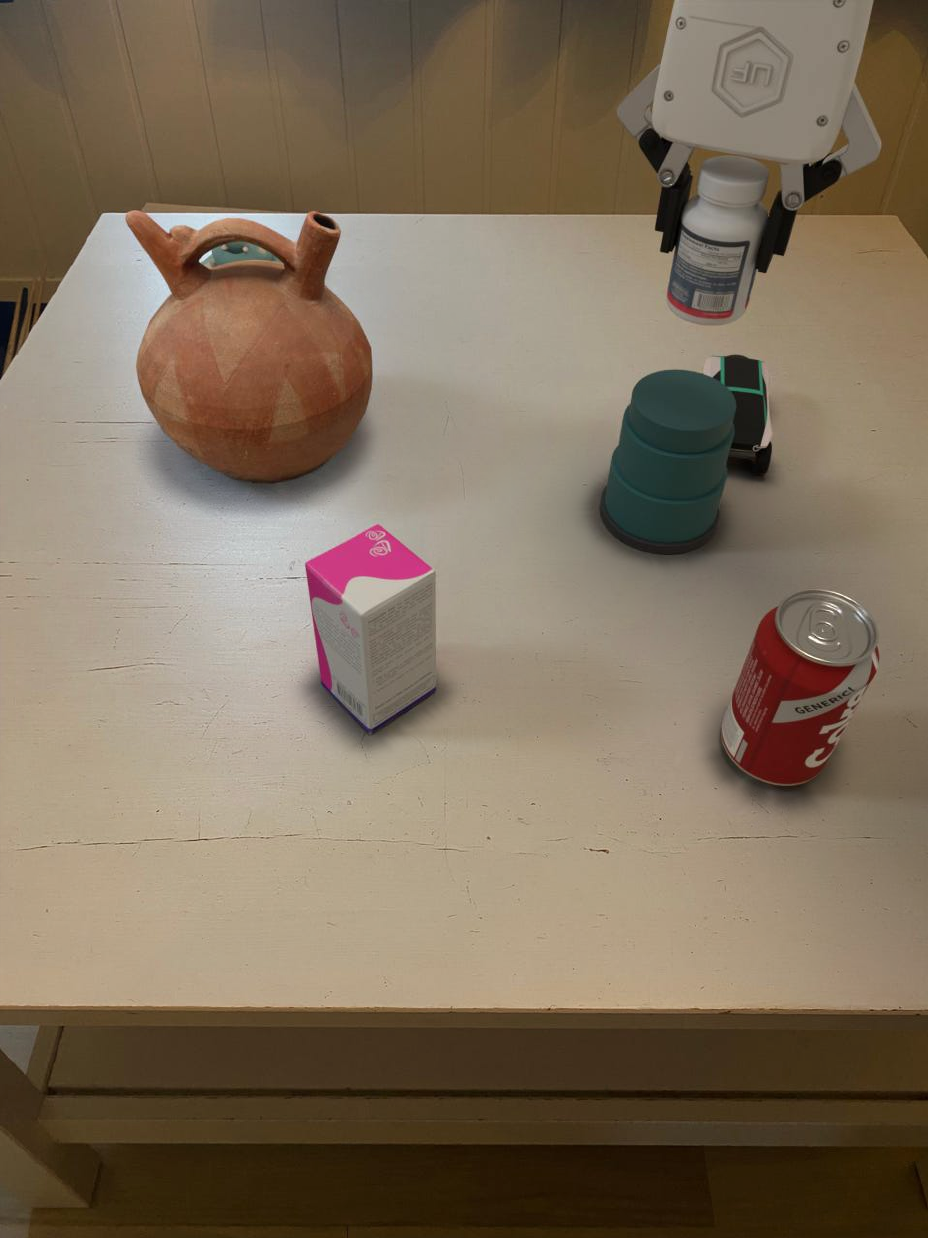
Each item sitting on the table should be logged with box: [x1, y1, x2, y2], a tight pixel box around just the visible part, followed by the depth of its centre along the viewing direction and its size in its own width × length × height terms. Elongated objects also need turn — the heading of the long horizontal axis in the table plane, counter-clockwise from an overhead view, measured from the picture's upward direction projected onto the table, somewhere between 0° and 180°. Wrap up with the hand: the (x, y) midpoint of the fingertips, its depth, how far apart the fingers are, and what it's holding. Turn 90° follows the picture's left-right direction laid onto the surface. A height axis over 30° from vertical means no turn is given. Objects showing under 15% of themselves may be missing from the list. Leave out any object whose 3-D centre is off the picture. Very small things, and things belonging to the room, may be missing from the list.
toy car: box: [701, 354, 773, 475], centre depth 81 cm, size 6×12×5 cm, turn 170°
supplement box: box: [304, 523, 437, 735], centre depth 59 cm, size 6×6×12 cm
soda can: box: [720, 588, 880, 787], centre depth 56 cm, size 7×7×12 cm
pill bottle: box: [665, 154, 770, 327], centre depth 59 cm, size 5×5×9 cm
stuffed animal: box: [200, 242, 282, 269], centre depth 95 cm, size 11×7×12 cm
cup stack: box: [599, 368, 736, 555], centre depth 72 cm, size 9×9×11 cm
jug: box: [124, 209, 374, 484], centre depth 73 cm, size 18×18×20 cm
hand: (717, 250), depth 59 cm, fingers closed on pill bottle, 5 cm apart
